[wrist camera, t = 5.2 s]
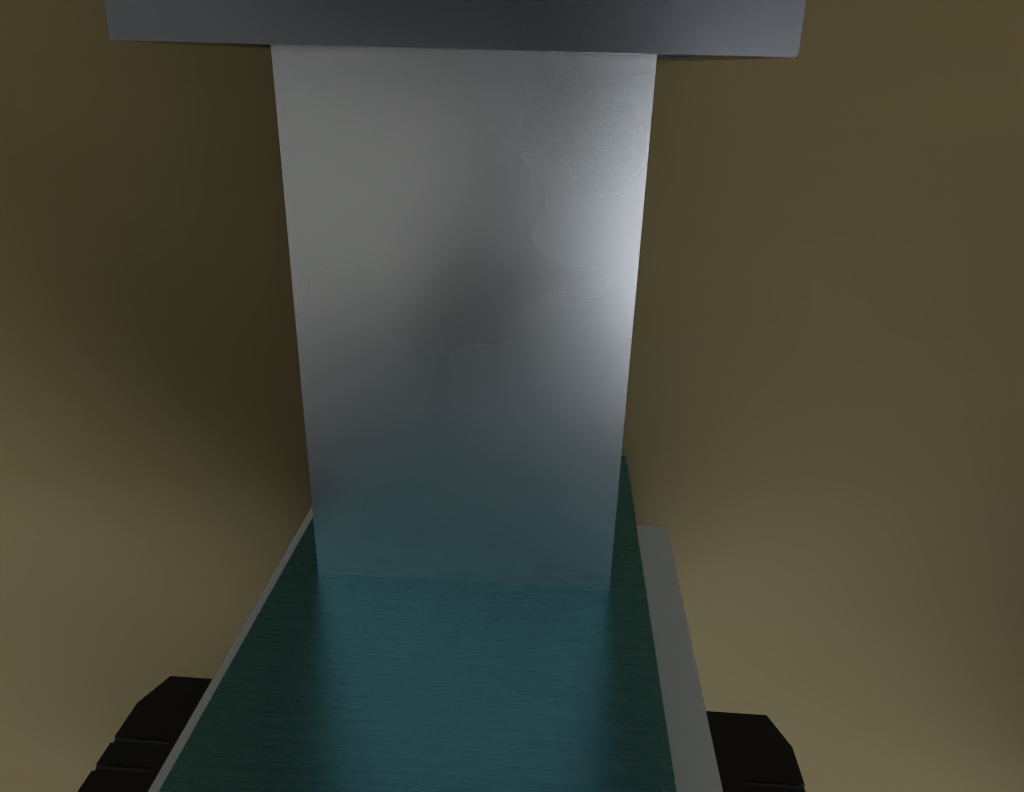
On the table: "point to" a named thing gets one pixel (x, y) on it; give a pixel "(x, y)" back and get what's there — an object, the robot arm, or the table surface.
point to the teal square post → (455, 437)
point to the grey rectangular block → (475, 25)
